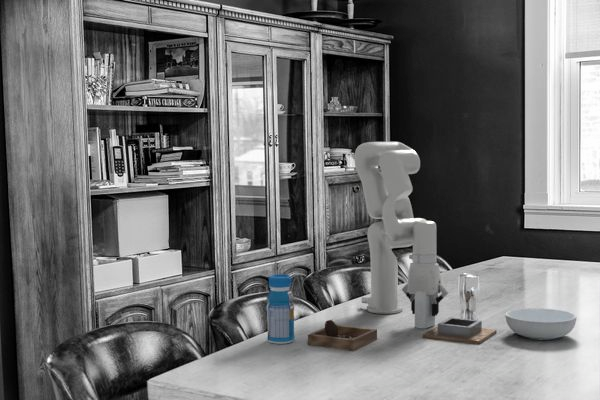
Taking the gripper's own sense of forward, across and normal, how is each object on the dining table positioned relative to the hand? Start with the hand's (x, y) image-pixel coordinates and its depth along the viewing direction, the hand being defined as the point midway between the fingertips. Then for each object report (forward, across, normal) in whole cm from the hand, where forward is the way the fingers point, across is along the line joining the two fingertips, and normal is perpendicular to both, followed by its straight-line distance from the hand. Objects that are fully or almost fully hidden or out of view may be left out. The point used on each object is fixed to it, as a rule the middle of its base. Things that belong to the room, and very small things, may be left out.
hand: (424, 313), depth 266 cm
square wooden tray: (+4, -14, -30) cm, 33 cm away
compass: (+4, -16, -30) cm, 34 cm away
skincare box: (+4, 0, 0) cm, 4 cm away
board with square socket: (+4, +14, -6) cm, 16 cm away
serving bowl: (+4, +36, +4) cm, 36 cm away
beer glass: (+4, +9, +16) cm, 19 cm away
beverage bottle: (+4, -31, -38) cm, 49 cm away
